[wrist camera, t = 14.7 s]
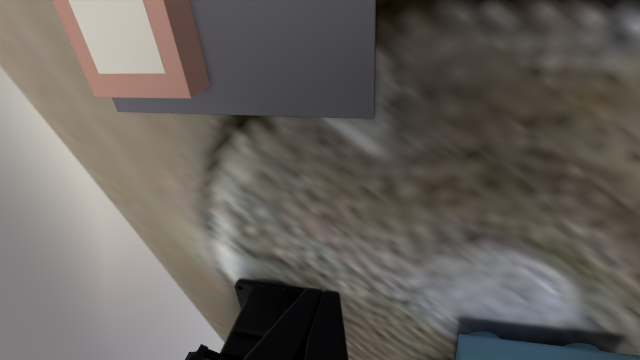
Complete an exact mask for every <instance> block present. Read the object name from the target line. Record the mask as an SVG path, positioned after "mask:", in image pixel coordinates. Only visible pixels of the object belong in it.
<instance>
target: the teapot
mask: <svg viewBox="0 0 640 360" xmlns="http://www.w3.org/2000/svg"><path fill="white" fill-rule="evenodd" d="M456 360H640V356H637V355H629V354H621V353H613V352H604V351H600V350H599V349H598V348H597V347H595V346H593V345H590V344H586V343H572V344H568V345H565V346H555V345H547V344H538V343H530V342H521V341H513V340H505V339H500V338H499V337H498V336H496V335H495V334H492V333H489V332H484V331H478V332H473V333H470V334H468V335H464V334H459V337H458V345H457V353H456Z"/></svg>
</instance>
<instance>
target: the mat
mask: <svg viewBox="0 0 640 360" xmlns="http://www.w3.org/2000/svg"><path fill="white" fill-rule="evenodd" d="M189 3H190V7H191V11H192V15H193V19H194V23H195V27H196V31H197V35H198V39H199V43H200V47H201V51H202V55H203V59H204V63H205V67H206V72H207V76H208V80H209V84H210V86H209V87H207V88H206V89H204V90H203V91H201V92H200V93H198V94H197V95H195V96H194V97H193V98H125V97H112V99H113V101H114V104H115V106H116V109H117V111H118V112H144V113H181V114H218V115H255V116H292V117H328V118H365V119H374V100H375V32H376V0H189Z"/></svg>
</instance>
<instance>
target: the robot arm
mask: <svg viewBox="0 0 640 360" xmlns="http://www.w3.org/2000/svg"><path fill="white" fill-rule="evenodd" d="M235 290H236V293H237V296H238V300H239V303H240V306H241V311H240V313H239V315H238V317H237V319H236V321H235V323H234V325H233V327H232V329H231V331H230V333H229V335H228V337H227V339H226V341H225V344H224V346H223V348H222V350H221V352H220V353H217V352H215V351H213V350H210V349H208V347H207V346H204V345H202V344H201V345H200V347H199V349H198V350H197V351H196V352H189V353H188V355H187V357H186V359H185V360H349V359H348V352H347V344H346V337H345V330H344V322H343V315H342V308H341V300H340V294H339V292H337V291H330V290H325V291H323V290H321V289H316V288H307V289H306V290H305V289H299V288H292V287H285V286H278V285H271V284H265V283H258V282H251V281H244V280H238V281H237V282H236V284H235Z"/></svg>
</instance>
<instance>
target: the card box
mask: <svg viewBox="0 0 640 360" xmlns="http://www.w3.org/2000/svg"><path fill="white" fill-rule="evenodd" d="M52 1H53V3H54V5H55V7H56V10H57V12H58V14H59V17H60V19H61V21H62V24H63V26H64V28H65V30H66V33H67V35H68V37H69V40H70V42H71V44H72V46H73V49H74V51H75V53H76V56H77V58H78V60H79V62H80V65H81V67H82V69H83V72H84V74H85V76H86V78H87V81H88V83H89V85H90V88H91V90H92V92H93V95H94V97H125V98H193V97H194V96H195V95H197V94H198V93H200V92H201V91H203V90H204V89H206V88H207V87H209V86H210V84H209V80H208V76H207V72H206V67H205V63H204V59H203V55H202V51H201V47H200V43H199V39H198V35H197V31H196V27H195V23H194V19H193V15H192V11H191V7H190V3H189V0H52Z"/></svg>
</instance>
